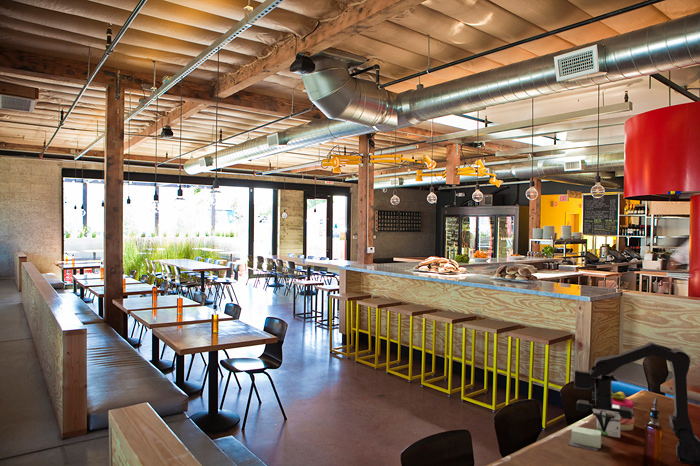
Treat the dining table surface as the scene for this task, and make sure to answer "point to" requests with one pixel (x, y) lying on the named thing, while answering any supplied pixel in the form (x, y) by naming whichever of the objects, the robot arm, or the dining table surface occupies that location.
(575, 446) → the bar mat
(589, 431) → the block
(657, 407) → the dining table surface
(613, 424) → the ink box
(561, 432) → the dining table surface
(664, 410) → the dining table surface
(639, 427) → the dining table surface
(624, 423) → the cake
